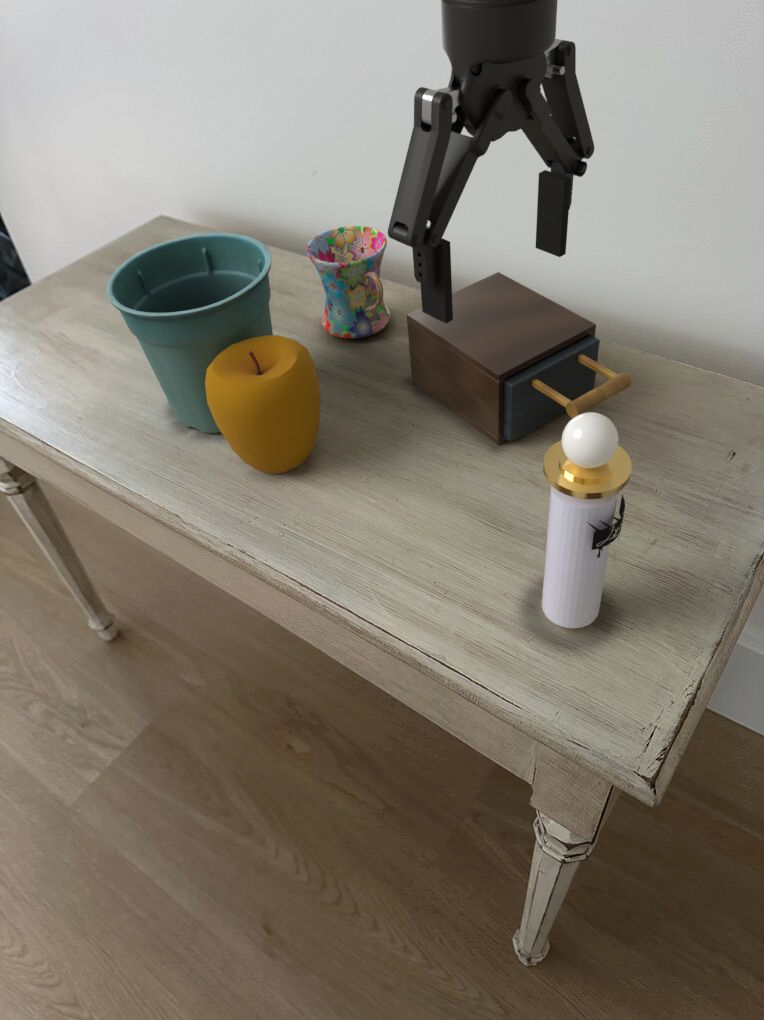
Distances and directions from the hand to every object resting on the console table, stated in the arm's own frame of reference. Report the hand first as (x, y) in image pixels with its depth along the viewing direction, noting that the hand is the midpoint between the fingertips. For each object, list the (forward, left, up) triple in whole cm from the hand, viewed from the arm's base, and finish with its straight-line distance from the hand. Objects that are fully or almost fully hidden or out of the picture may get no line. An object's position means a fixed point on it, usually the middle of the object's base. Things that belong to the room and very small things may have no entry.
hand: (496, 282), depth 66 cm
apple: (+21, +5, -19) cm, 29 cm away
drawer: (-2, -8, -18) cm, 20 cm away
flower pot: (+31, -2, -19) cm, 37 cm away
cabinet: (+2, -11, -19) cm, 22 cm away
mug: (+21, -19, -19) cm, 34 cm away
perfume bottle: (-11, +17, -19) cm, 28 cm away
